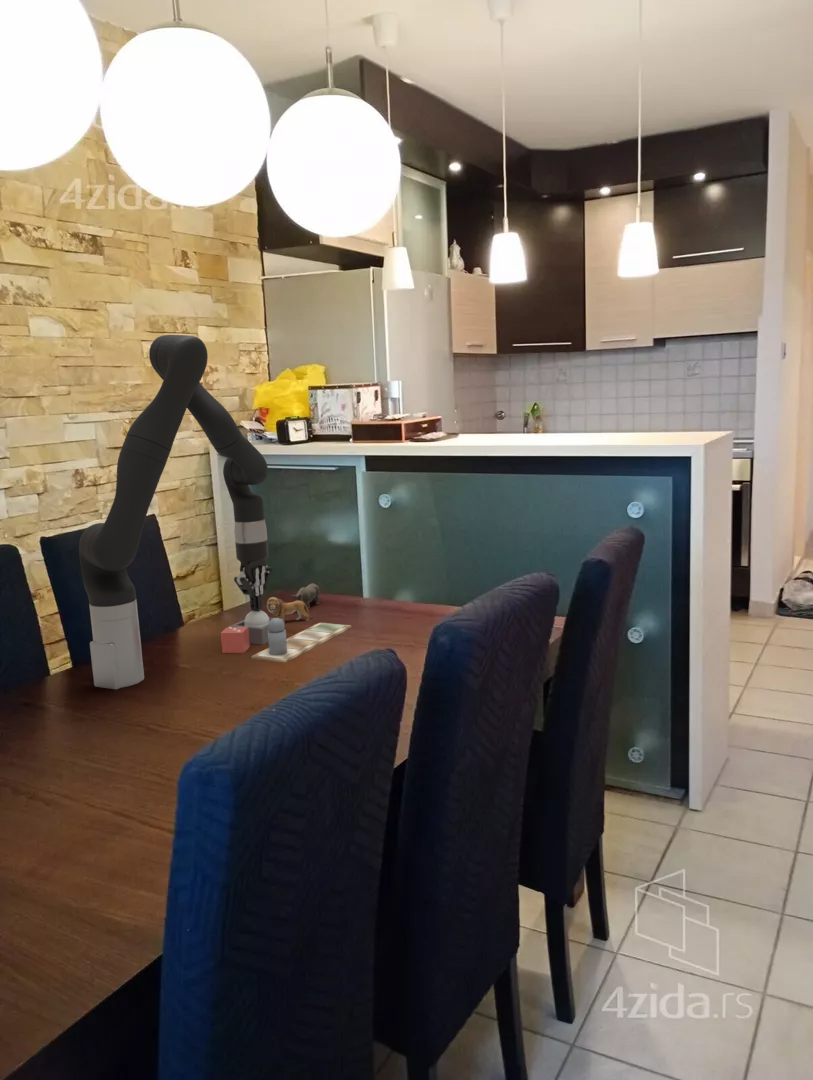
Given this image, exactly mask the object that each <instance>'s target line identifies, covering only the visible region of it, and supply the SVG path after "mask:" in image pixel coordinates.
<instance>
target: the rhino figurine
mask: <svg viewBox="0 0 813 1080" xmlns="http://www.w3.org/2000/svg"><path fill="white" fill-rule="evenodd" d="M320 593H321V591H320V587H319V586H318V585H317V584H315V583H314V582H312V583H309V584H308V585H307V586H306V587H300V588H299V590H298V591H297V593H296V594H290V596H291V597H292V598H294V601H302V602H304V603H305V604H306V606H307V608H308V610H309V609H311V606H310V603H314V605H320V604H321V603H320Z"/></svg>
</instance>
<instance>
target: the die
mask: <svg viewBox="0 0 813 1080" xmlns="http://www.w3.org/2000/svg"><path fill="white" fill-rule="evenodd" d="M220 638H221V639H220V640H221V652H222V654H244V653H246V651H247V650H248V649H249V648H250V647H251V643H250V641H249V628H248V627H230V626H227V627H226V628H224V629H223V631H221V632H220Z"/></svg>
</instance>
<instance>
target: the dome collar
mask: <svg viewBox="0 0 813 1080" xmlns="http://www.w3.org/2000/svg"><path fill="white" fill-rule="evenodd" d="M273 618H274V617H269V620H271V619H273ZM282 620H283V622H284V621H285V618H284V619H282ZM244 622H245V619H243V620H240V621H238V622H236V623H233V624H231V625H229V627H248V628H249V641H250V644H252V643H253V645H265V644H267V643H268V631H269V628H268V625H265V626H263V627H261V628H260V627H250V626H245V624H244ZM284 629H285V626H284ZM285 630H286V629H285Z"/></svg>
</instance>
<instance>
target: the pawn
mask: <svg viewBox="0 0 813 1080" xmlns="http://www.w3.org/2000/svg"><path fill="white" fill-rule="evenodd" d="M272 618H273V619H271V620H270V622H269V624H268V628H269V631H268V642H267V643H268V648H269V654H270V655H283V654H286V653H287V641H286V639H287V630H286V629H284V627H285V623H284V622H283V620H282V619H280V618H278V617H272Z"/></svg>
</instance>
